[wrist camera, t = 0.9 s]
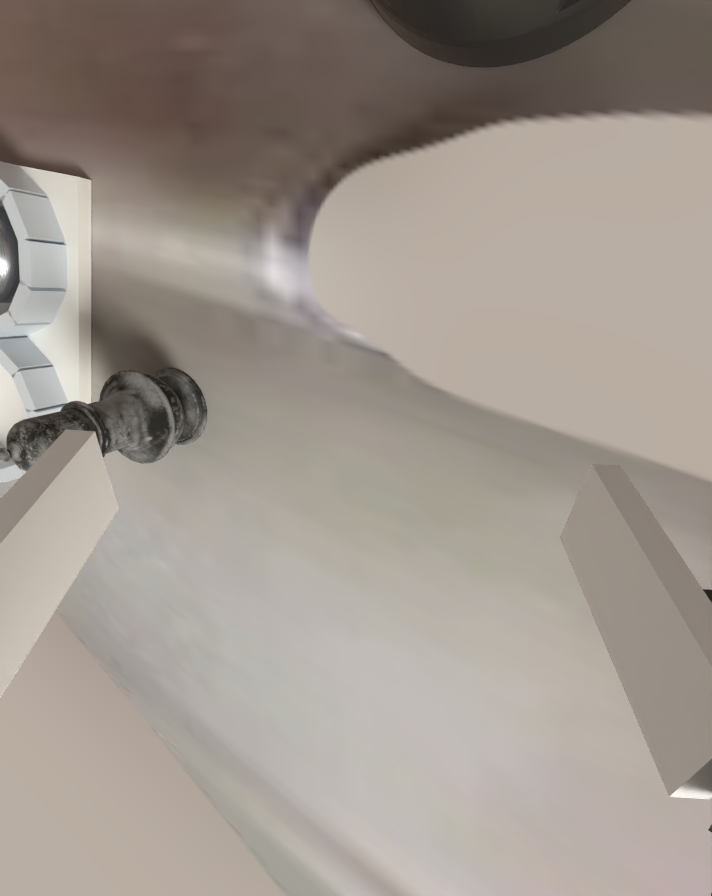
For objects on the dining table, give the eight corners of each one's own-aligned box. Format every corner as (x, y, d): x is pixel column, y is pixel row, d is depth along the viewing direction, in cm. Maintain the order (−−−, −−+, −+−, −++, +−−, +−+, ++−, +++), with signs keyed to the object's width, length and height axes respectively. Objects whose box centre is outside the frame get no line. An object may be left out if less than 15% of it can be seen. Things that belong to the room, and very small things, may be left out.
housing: (-49, 153, 34) (-109, 138, 31) (91, 180, 31) (39, 166, 28) (-23, 440, 42) (-70, 451, 39) (91, 488, 39) (50, 505, 35)
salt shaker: (127, 388, 34) (-66, 427, 24) (181, 347, 32) (-8, 371, 21) (169, 461, 35) (-2, 532, 24) (225, 427, 32) (62, 490, 21)
